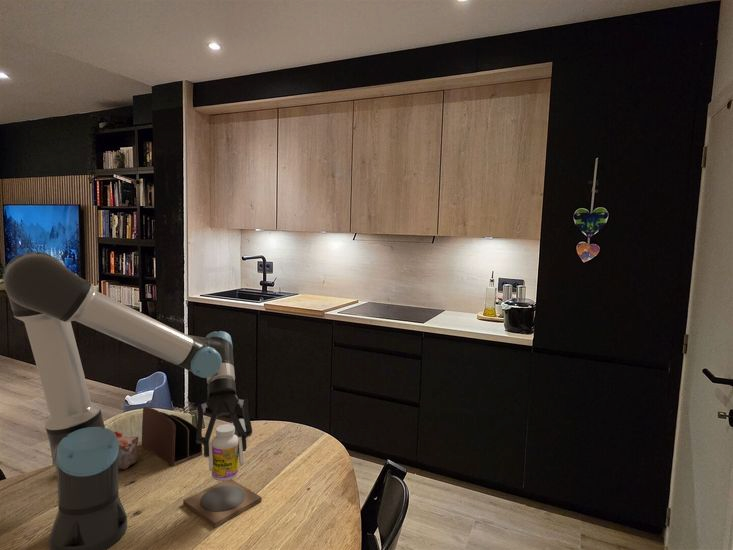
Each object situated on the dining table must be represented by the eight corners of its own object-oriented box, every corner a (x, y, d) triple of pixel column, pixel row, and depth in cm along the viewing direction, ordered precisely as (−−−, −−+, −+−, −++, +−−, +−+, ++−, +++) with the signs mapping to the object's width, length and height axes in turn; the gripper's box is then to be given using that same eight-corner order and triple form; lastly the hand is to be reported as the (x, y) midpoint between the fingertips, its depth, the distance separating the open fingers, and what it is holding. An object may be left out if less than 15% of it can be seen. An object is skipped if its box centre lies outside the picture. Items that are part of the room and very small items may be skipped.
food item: (142, 459, 137) (142, 428, 136) (128, 473, 129) (128, 440, 128) (97, 457, 136) (97, 426, 136) (81, 471, 129) (80, 438, 128)
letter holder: (172, 467, 133) (172, 421, 132) (141, 445, 145) (140, 404, 144) (202, 455, 141) (203, 412, 140) (170, 435, 153) (170, 396, 152)
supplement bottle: (207, 481, 113) (207, 433, 112) (217, 467, 120) (217, 421, 118) (233, 483, 113) (233, 434, 111) (241, 469, 119) (242, 422, 118)
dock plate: (215, 527, 107) (215, 522, 107) (183, 504, 115) (183, 499, 115) (261, 501, 118) (261, 496, 118) (229, 481, 126) (229, 477, 126)
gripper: (255, 385, 132) (263, 464, 119) (183, 392, 125) (184, 478, 111) (258, 373, 127) (267, 455, 114) (183, 380, 119) (184, 468, 106)
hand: (226, 466), depth 112 cm, fingers closed on supplement bottle, 7 cm apart
